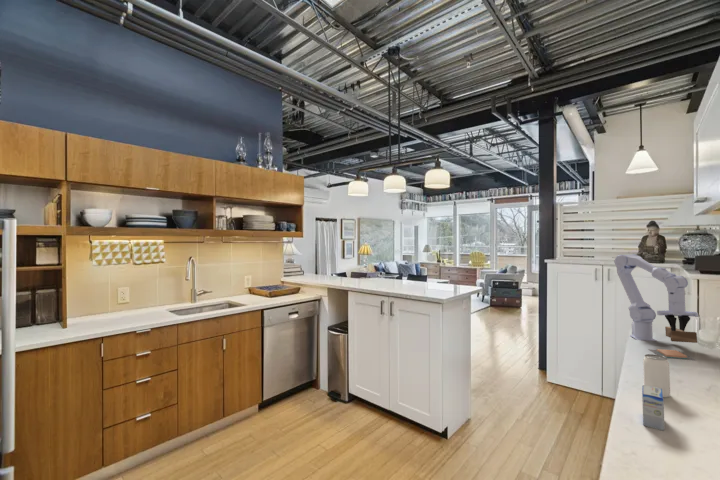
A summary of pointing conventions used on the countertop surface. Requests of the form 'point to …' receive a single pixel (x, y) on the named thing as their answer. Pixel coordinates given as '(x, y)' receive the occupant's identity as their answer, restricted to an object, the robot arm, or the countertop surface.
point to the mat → (671, 358)
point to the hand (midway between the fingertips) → (677, 331)
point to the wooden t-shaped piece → (681, 335)
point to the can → (657, 373)
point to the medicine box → (653, 407)
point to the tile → (671, 353)
